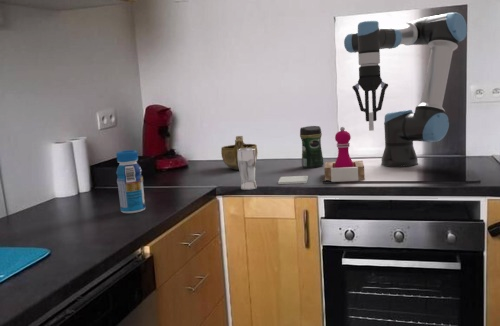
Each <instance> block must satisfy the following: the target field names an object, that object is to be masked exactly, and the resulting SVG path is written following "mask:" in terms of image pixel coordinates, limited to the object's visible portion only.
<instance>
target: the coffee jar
mask: <svg viewBox="0 0 500 326" xmlns="http://www.w3.org/2000/svg"><path fill="white" fill-rule="evenodd" d="M322 135H323V134H322V129H321V126H320V125H319V126H318V125H308V126H304V127H300V130H299V138H300V139H301V149H302V150H301V166H302V167H303V168H304V169H305V168H308V169H309V168H311V169H313V168H319V167H323V166H324V165H325V162H324V156H323V151H322V144H321V143H322V142H321V141H322V140H321V139H322Z"/></svg>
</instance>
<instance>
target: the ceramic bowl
mask: <svg viewBox="0 0 500 326" xmlns="http://www.w3.org/2000/svg"><path fill="white" fill-rule="evenodd" d="M243 140H244V137H243V135H237V136H235V139H234V144H230V145H224V146H221V149H220V150H221V151H220V152H221V158H222V161H223V164H224V165H225V166H226V167H228V168H230V169H231V170H232V169H233V170H236V171H239V167H238V151H237V150H238V149H243V148H255V155H256V160H257V158H258V147H257V144H255V143H254V144H253V143H245V142H244V141H243Z"/></svg>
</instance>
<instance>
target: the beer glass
mask: <svg viewBox="0 0 500 326" xmlns="http://www.w3.org/2000/svg"><path fill="white" fill-rule="evenodd" d="M237 151H238V167H239V170H238V171H239V175H240V179H241V185H240V189H241V190H243V191H250V190H255V189H257V188H258V185H257V182H256V169H257V159H256V155H255V148H243V149H238V150H237Z"/></svg>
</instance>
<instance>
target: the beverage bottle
mask: <svg viewBox="0 0 500 326" xmlns="http://www.w3.org/2000/svg"><path fill="white" fill-rule="evenodd" d="M138 160H139V154H138V150H135V149H132V150H131V149H129V150H121V151H117V152H116V161H117V163H119V164H118V166H117V168H116V173H115V174H116V175H117V179H116V183H117V188H118V189H117V190H118V197H119V206H120V207H119V209H120V212H121V213H122V214H135V213H140V212H143V211H145V210H146V200H145V192H144V189H145V188H144V176H143V175H142V172H143V170H142V168H141V166H140V164H139V163H138Z"/></svg>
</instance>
